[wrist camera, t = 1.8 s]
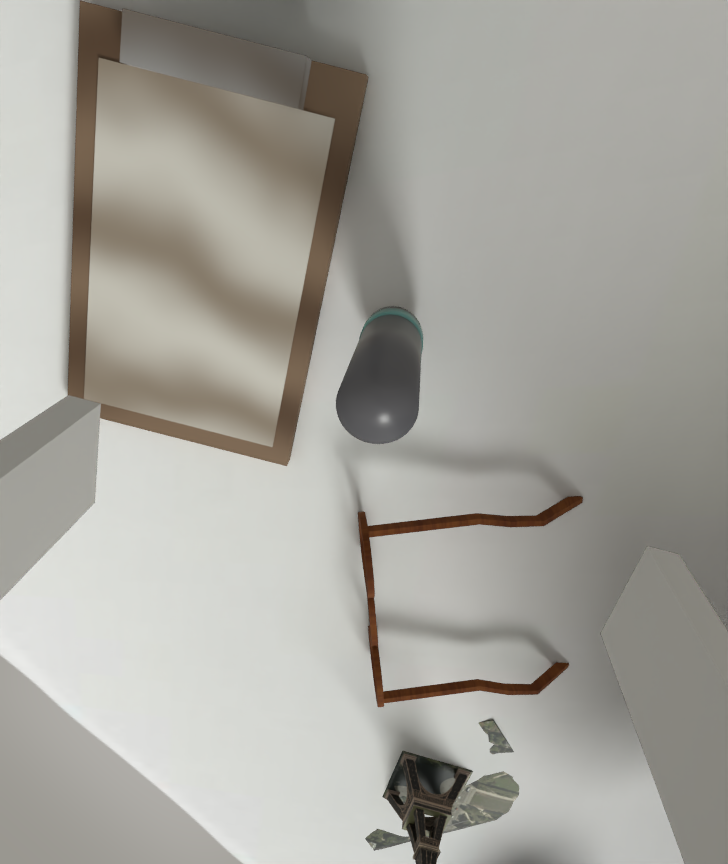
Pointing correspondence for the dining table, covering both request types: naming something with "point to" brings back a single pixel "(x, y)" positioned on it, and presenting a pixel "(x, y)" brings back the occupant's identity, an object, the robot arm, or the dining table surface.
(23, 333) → the dining table surface
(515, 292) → the dining table surface
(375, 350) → the marker
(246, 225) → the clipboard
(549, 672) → the glasses
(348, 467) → the dining table surface
